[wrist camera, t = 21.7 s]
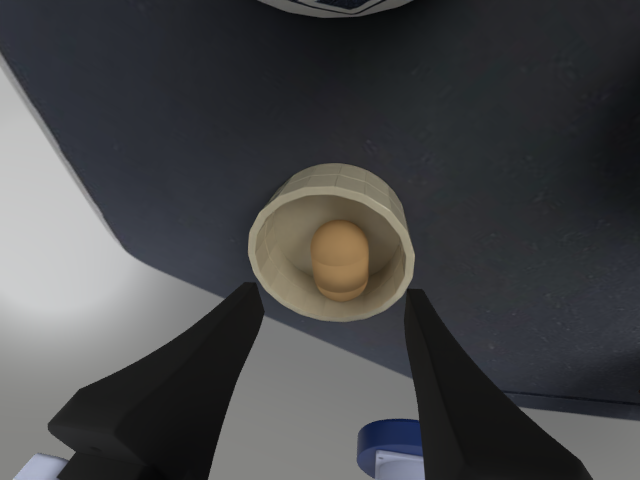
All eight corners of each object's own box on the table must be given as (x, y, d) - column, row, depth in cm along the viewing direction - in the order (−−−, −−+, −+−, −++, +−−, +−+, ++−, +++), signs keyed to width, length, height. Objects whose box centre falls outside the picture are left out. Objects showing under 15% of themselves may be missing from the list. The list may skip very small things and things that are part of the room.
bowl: (401, 284, 18) (407, 326, 15) (282, 280, 19) (266, 317, 16) (412, 158, 13) (423, 183, 10) (256, 166, 15) (228, 189, 12)
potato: (364, 275, 18) (372, 311, 15) (316, 279, 18) (316, 315, 15) (363, 207, 15) (373, 235, 12) (307, 212, 15) (305, 242, 12)
